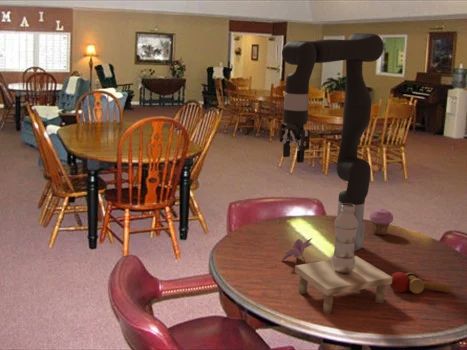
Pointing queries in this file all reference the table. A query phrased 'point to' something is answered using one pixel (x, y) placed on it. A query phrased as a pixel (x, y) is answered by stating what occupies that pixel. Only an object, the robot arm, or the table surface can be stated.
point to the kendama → (415, 283)
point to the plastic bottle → (345, 239)
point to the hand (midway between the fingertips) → (292, 159)
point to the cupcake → (381, 220)
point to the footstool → (341, 280)
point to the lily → (297, 249)
